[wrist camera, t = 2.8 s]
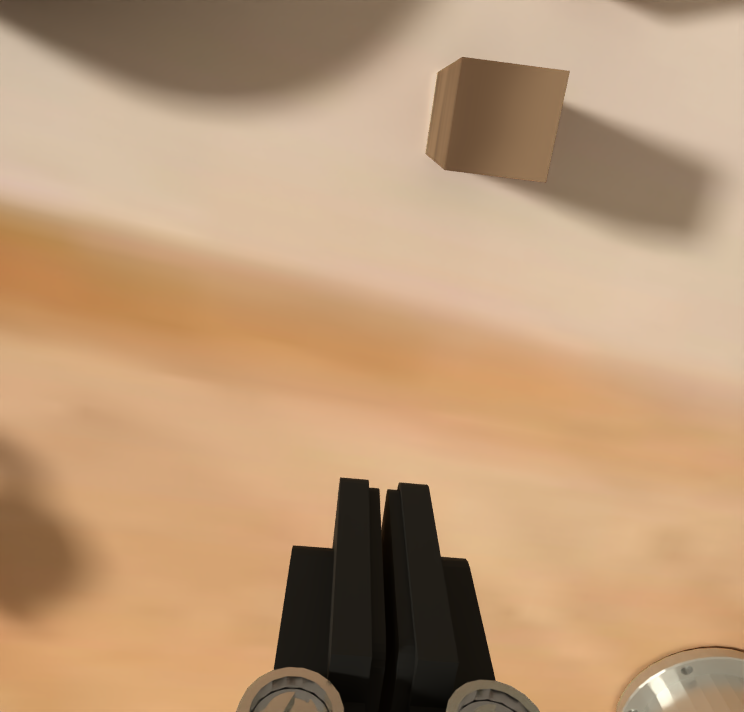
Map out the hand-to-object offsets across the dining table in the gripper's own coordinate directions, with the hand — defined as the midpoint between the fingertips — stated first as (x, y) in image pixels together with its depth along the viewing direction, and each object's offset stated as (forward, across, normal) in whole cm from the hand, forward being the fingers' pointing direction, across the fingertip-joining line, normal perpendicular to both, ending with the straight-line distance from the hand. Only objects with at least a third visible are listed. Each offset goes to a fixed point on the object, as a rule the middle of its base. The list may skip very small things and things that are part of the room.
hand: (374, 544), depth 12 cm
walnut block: (+26, -5, -7) cm, 27 cm away
